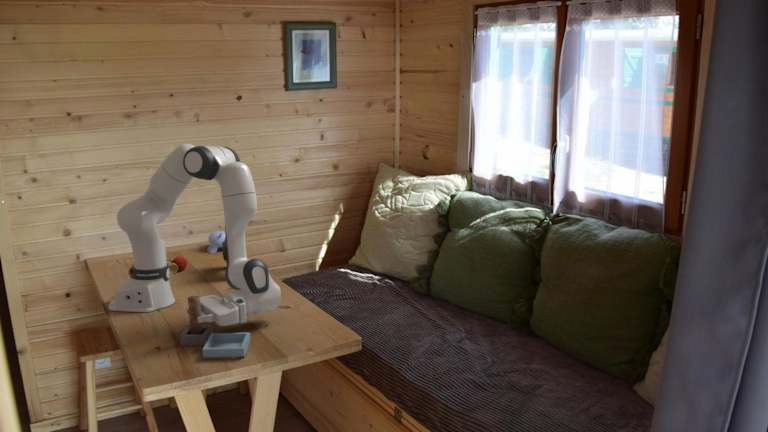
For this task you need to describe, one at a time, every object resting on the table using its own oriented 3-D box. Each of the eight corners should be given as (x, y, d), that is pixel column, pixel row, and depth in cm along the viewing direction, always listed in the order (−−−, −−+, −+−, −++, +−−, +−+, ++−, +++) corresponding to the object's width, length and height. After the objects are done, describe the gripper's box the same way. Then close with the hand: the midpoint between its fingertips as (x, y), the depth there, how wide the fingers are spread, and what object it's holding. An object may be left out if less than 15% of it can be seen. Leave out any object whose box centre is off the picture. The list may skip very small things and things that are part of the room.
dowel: (190, 342, 220) (186, 299, 217) (192, 337, 224) (189, 295, 220) (201, 342, 220) (198, 299, 217) (204, 337, 224) (200, 295, 221)
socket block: (181, 345, 218) (180, 336, 217) (187, 335, 226) (186, 326, 225) (207, 344, 218) (206, 335, 217) (212, 334, 226) (211, 325, 225)
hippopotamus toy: (228, 243, 330) (226, 224, 328) (234, 252, 317) (233, 231, 314) (204, 246, 326) (203, 226, 324) (210, 255, 313) (208, 234, 310)
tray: (203, 358, 209) (202, 349, 208) (211, 342, 220) (211, 333, 219) (244, 357, 209) (243, 348, 208) (250, 341, 220) (250, 332, 220)
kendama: (148, 283, 280) (191, 269, 290) (144, 268, 279) (187, 254, 289) (143, 282, 286) (185, 267, 296) (138, 267, 285) (181, 253, 295)
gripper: (219, 287, 235) (179, 296, 227) (246, 305, 219) (204, 315, 211) (220, 305, 236) (180, 315, 228) (248, 324, 220) (205, 335, 212)
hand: (192, 315), depth 220 cm, fingers open, 7 cm apart
